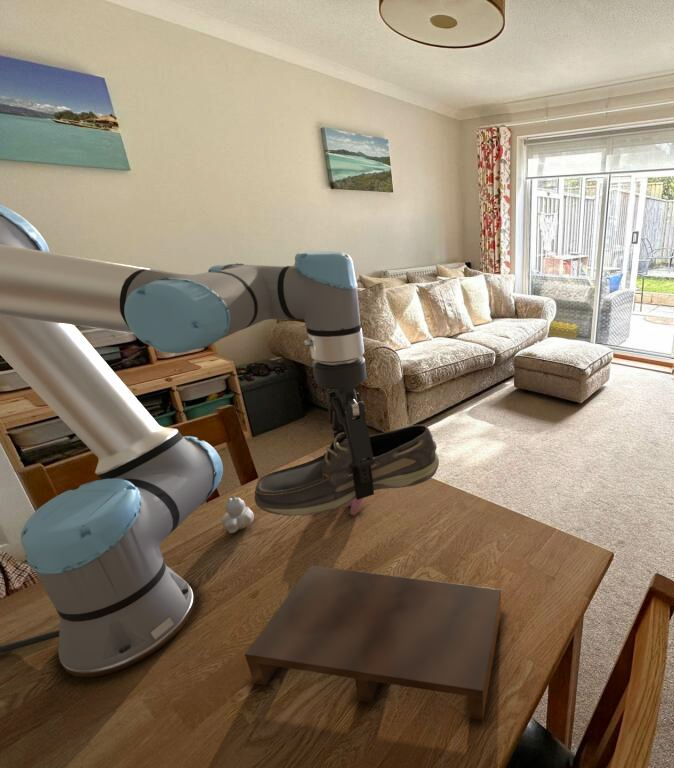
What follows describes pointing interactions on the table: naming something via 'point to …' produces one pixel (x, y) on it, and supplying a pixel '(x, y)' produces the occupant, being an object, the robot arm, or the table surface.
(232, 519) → the white lobed figurine
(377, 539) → the table surface
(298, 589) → the small wooden pallet
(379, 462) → the boat shoe
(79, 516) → the robot arm
